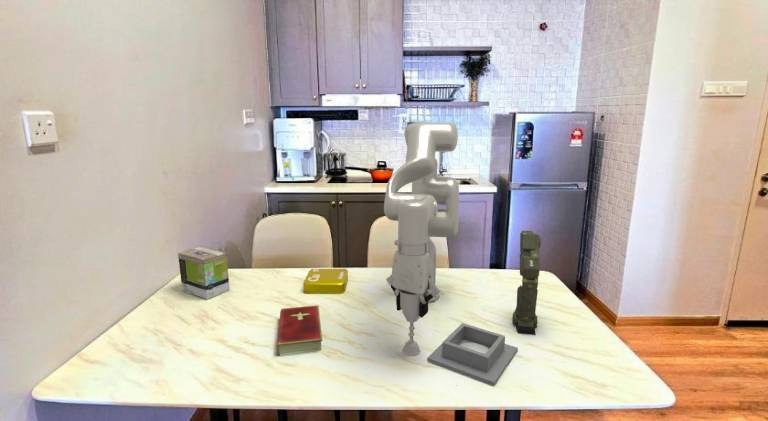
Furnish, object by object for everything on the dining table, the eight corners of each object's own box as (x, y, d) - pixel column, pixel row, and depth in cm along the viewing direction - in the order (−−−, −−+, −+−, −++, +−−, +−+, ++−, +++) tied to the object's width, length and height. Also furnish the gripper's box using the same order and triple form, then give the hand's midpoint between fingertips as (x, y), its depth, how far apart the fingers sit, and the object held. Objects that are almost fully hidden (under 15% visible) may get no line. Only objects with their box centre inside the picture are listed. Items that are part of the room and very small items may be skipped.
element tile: (344, 295, 149) (344, 282, 148) (302, 295, 149) (302, 282, 148) (348, 278, 164) (348, 267, 163) (310, 278, 164) (309, 267, 163)
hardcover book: (277, 357, 111) (276, 343, 110) (280, 320, 131) (279, 307, 130) (322, 352, 114) (322, 338, 113) (319, 316, 134) (318, 304, 133)
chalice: (427, 346, 115) (428, 286, 111) (421, 359, 109) (422, 296, 105) (402, 341, 118) (402, 282, 114) (394, 354, 112) (394, 292, 107)
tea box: (231, 290, 153) (227, 252, 149) (206, 300, 144) (202, 260, 141) (205, 281, 160) (201, 245, 157) (181, 290, 152) (176, 252, 149)
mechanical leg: (541, 339, 117) (546, 232, 117) (515, 336, 119) (519, 231, 119) (534, 326, 131) (538, 231, 131) (510, 324, 132) (514, 229, 132)
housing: (427, 361, 109) (427, 344, 107) (456, 331, 123) (457, 316, 122) (494, 386, 99) (495, 367, 97) (517, 351, 113) (518, 334, 112)
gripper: (376, 245, 108) (377, 309, 113) (435, 258, 99) (434, 327, 103) (392, 238, 114) (392, 298, 119) (449, 249, 105) (447, 315, 109)
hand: (411, 311), depth 111 cm, fingers closed on chalice, 6 cm apart
